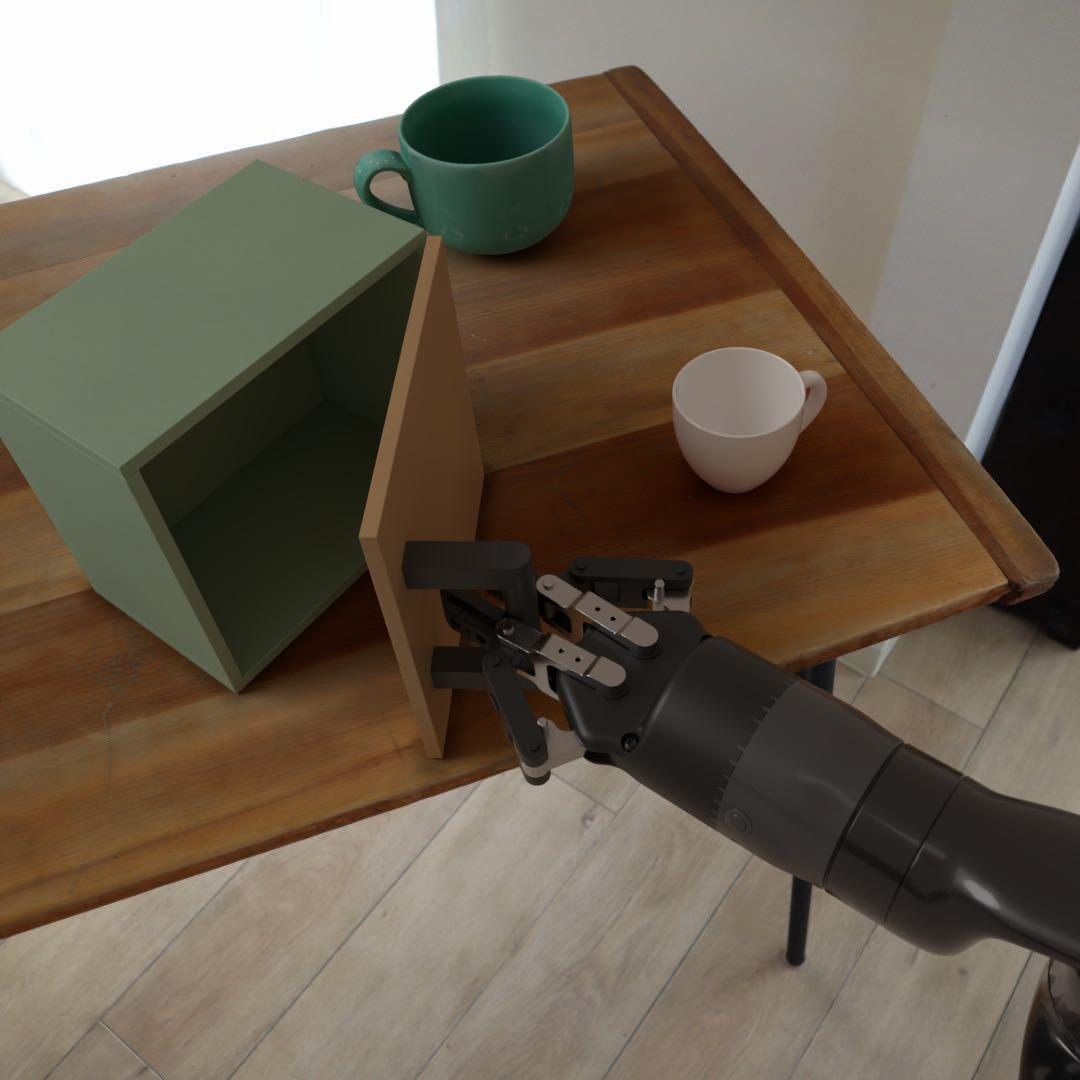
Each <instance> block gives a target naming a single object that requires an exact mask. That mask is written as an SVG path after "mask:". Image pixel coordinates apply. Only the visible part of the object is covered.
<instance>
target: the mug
mask: <svg viewBox="0 0 1080 1080" xmlns="http://www.w3.org/2000/svg"><path fill="white" fill-rule="evenodd" d="M398 121H399V122H398V125H397V135H398V142H399V147H400V152H399V151H396V150H394V149H393V150H392V149H386V148H379V149H373V150H371V151H368V152H367V153H366V154H364V155H362V157H361V158H360V159H359V160H358V162H357V163H356V166H355V168H354V172H353V184H354V189H355V192H356V195H357V196H358V199H360V202H361V203H363V204H366V205H368V206H370V207H373V208H375V209H378V210H380V211H382V212H385V213H387V214H389V215H392V216H394V217H397V218H399V219H401V220H404V221H406V222H409V223H411V224H413V225H416V226H418V227H421V228H423V229H425V232H428V233H429V235H430V236H442V237H443V242H444V246H447V247H449V248H451V249H453V250H457V251H459V252H463V253H467V254H472V255H480V256H497V255H504V254H510V253H514V252H519V251H521V250H525V249H527V248H529V247H532V246H534V245H536V244H537V243H539V242H541V241H543V240H545V238H547V237H548V236H549V235H551V234H552V233H553V232H554V231H555V230H556V229H557V228H558V227H559V226H560V224H561V223H562V222H563V220H564V219H565V217H566V216H567V214H568V211H569V209H570V206H571V204H572V200H573V195H574V190H575V152H574V138H573V137H574V135H573V125H572V115H571V109H570V106H569V103H568V102H567V101H566V99H565V97H564V96H562V94H561V93H559V92H558V91H557V90H556V89H554V88H553V87H551V86H550V85H548V84H545V83H543V82H540V81H537V80H536V79H532V78H528V77H523V76H517V75H505V74H504V75H503V74H497V75H495V74H494V75H493V74H491V75H478V76H471V77H465V78H460V79H457V80H453V81H449V82H447V83H444V84H441V85H439V86H437V87H434V88H432V89H431V90H428V91H427V92H425V93H423V94H421V95H420V96H418V97H417V98H416V99H415V100H414V101H412V102H411V103H410V104H409V105H408V107H406V108H405V110H404V112H402V114H401V117H400V119H399V120H398ZM383 172H393V173H396V174H399V176H400V177H401V179H403V180H404V181H405V182H406V184H407V189H408V192H409V196H410V201H411V204H412V207H413V210H412V209H409V208H403V207H399V206H396V205H393V204H390V203H388V202H387V201H384V200H383V199H381V198H379V197H377V195H375V194H374V193H373V192H372V191H371V190H372V189H371V183H372V181H373V179H374V177H376V176H377V175H378V174H380V173H383Z"/></svg>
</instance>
